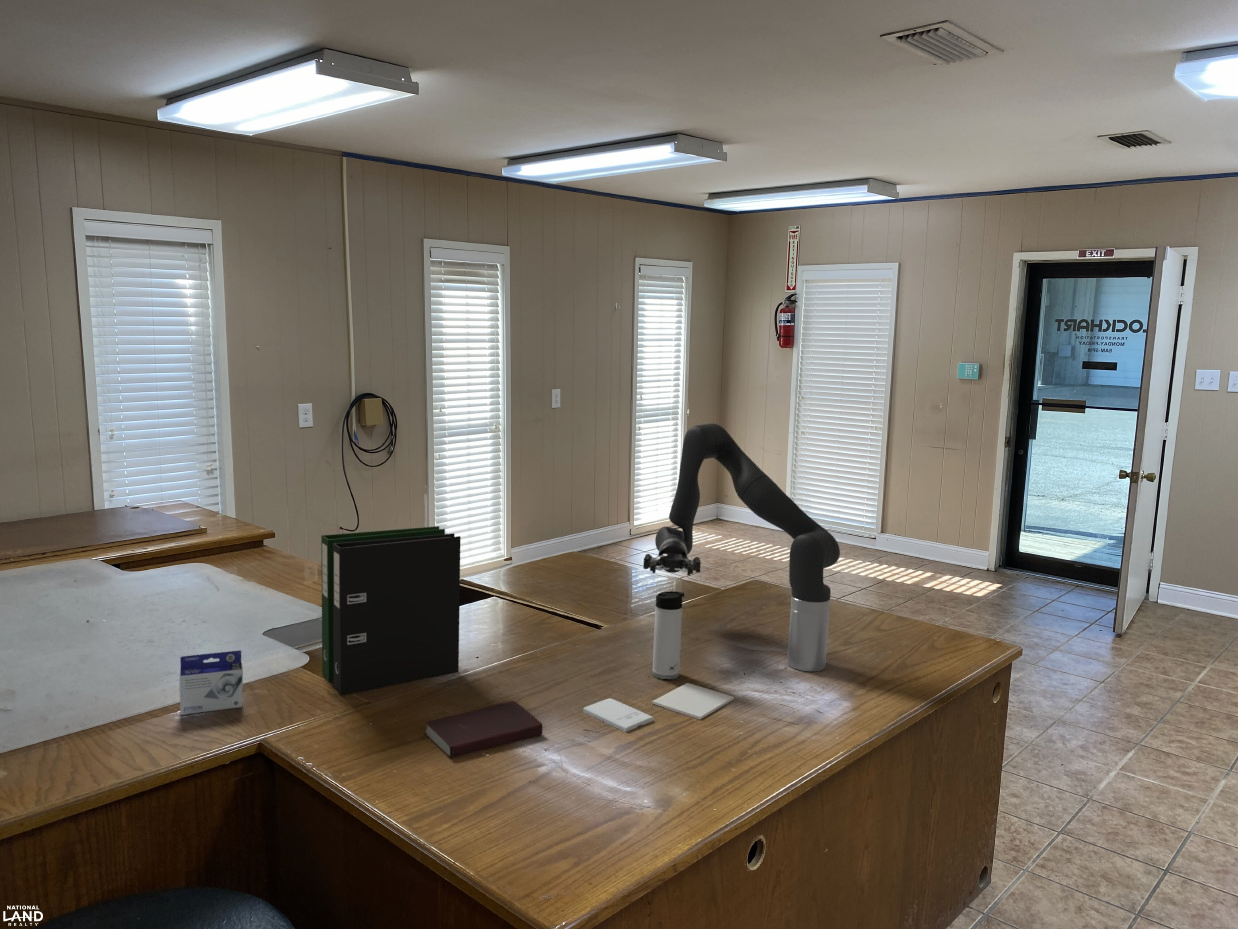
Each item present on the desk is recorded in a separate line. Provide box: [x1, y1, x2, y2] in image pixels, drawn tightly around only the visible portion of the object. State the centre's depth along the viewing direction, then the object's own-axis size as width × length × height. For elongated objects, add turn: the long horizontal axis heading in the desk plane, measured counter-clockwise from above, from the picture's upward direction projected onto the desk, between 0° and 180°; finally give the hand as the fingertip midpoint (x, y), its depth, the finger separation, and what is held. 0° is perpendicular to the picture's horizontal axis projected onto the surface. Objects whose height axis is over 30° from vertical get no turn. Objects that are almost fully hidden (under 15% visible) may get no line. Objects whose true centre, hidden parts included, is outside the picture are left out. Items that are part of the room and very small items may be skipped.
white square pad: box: [651, 682, 734, 720], centre depth 185 cm, size 14×12×1 cm
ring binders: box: [320, 525, 462, 697], centre depth 192 cm, size 27×15×32 cm, turn 124°
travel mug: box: [651, 590, 685, 681], centre depth 198 cm, size 6×7×20 cm
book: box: [423, 700, 543, 759], centre depth 165 cm, size 12×19×3 cm, turn 125°
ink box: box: [179, 649, 244, 716], centre depth 171 cm, size 12×2×12 cm, turn 117°
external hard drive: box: [582, 697, 655, 733], centre depth 176 cm, size 2×8×12 cm
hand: (671, 570), depth 208 cm, fingers open, 8 cm apart
